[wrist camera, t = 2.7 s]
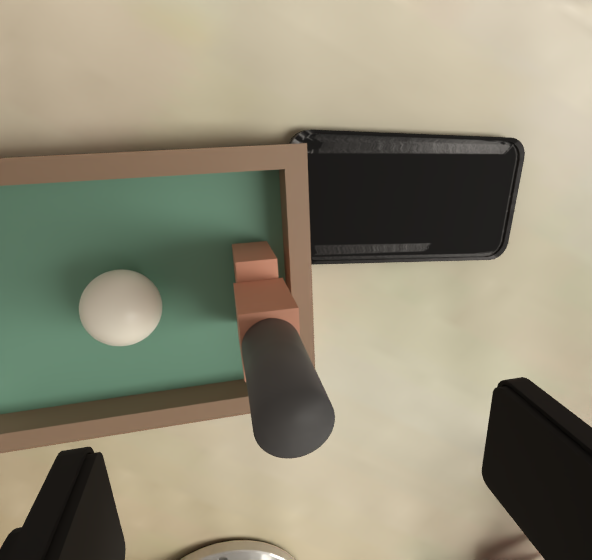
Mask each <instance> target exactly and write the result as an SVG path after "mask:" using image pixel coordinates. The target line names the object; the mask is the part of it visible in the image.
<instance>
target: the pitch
mask: <svg viewBox="0 0 592 560" xmlns="http://www.w3.org/2000/svg"><path fill="white" fill-rule="evenodd" d="M261 241H267V242H268V244H269V245H270V247H271V249H272V251H273V252H274V254H275V256H276V257H277V263H278V278H283V280H284V282H285V283H286V285H287V287H288V289H289V291H290V293H291V294H292V296H293V298H294V300H295V302H296V304H297V306H298V307H299V324H300V338H301V340H302V342H303V344H304V347H305V349H306V351H307V353H308V355H309V357H310V359H311V362H312V364H313V366H314V368H315V355H314V327H313V299H312V271H311V243H310V215H309V187H308V159H307V143H301V144H280V145H259V146H238V147H217V148H197V149H176V150H155V151H134V152H113V153H93V154H72V155H51V156H30V157H9V158H0V453H5V452H11V451H17V450H23V449H30V448H36V447H42V446H49V445H55V444H61V443H67V442H74V441H80V440H86V439H92V438H99V437H105V436H111V435H118V434H124V433H130V432H136V431H143V430H149V429H155V428H161V427H168V426H174V425H180V424H187V423H193V422H199V421H205V420H212V419H218V418H224V417H231V416H237V415H243V414H249V413H251V411H250V405H249V398H248V391H247V384H246V382H245V380H244V373H243V366H242V358H241V351H240V344H239V336H238V326H237V316H236V306H235V296H234V286H233V283H236V282H235V272H234V262H233V252H232V244H238V243H250V242H261ZM119 269H124V270H131V271H135V272H138V273H140V274H142V275H144V276H146V277H147V278H148V279H149V280H151V281H152V282H153V283H154V285H155V286H156V287H157V289H158V291H159V293H160V296H161V299H162V314H161V318H160V321H159V323H158V325H157V327H156V328H155V329H154V331H153V332H152V333H151V334H150V335H149V336H148V337H146V338H145V339H143V340H142V341H140V342H138V343H135V344H132V345H128V346H111V345H107V344H104V343H101V342H99V341H97V340H96V339H94V338H93V337H92V336H91V335H90V334H89V333H88V332H87V331H86V330H85V328H84V327H83V325H82V323H81V320H80V315H79V302H80V298H81V295H82V293H83V291H84V289H85V288H86V287H87V285H88V284H89V283H90V282H91V281H92V280H93V279H95V278H96V277H97V276H99V275H101V274H103V273H105V272H108V271H112V270H119Z"/></svg>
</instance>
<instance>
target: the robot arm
mask: <svg viewBox="0 0 592 560" xmlns="http://www.w3.org/2000/svg"><path fill="white" fill-rule="evenodd" d="M482 476H483V479H484V481H485V484H486V485H487V487H488V488H489V489H490V490H491V492H492V493H493V494H494V496H495V497H496V498H497V499H498V501H499V502H500V503H501V504H502V506H503V507H504V508H505V510H506V511H507V512H508V513H509V515H510V516H511V517H512V518H513V520H514V521H515V522H516V523H517V525H518V526H519V527H520V529H521V530H522V531H523V532H524V534H525V535H526V536H527V537H528V539H529V540H530V541H531V543H532V544H533V545H534V546H535V548H536V549H537V550H538V551H539V553H540V554H541V555H542V557H543V558H544V559H545V560H592V427H590V426H589V425H588V424H586V423H585V422H584V421H582V420H581V419H580V418H579V417H577V416H576V415H575V414H573V413H572V412H571V411H569V410H568V409H567V408H565V407H564V406H563V405H562V404H560V403H559V402H558V401H556V400H555V399H554V398H552V397H551V396H550V395H548V394H547V393H546V392H545V391H543V390H542V389H541V388H539V387H538V386H537V385H535V384H534V383H533V382H531V381H530V380H529V379H527V378H523V377H521V378H515V379H509V380H503V381H500V383H499V384H498V387H497V388H495V389H494V391H493V396H492V403H491V410H490V417H489V423H488V430H487V437H486V444H485V451H484V458H483V465H482ZM0 560H125V541H124V536H123V533H122V529H121V525H120V521H119V517H118V513H117V509H116V505H115V501H114V497H113V493H112V489H111V486H110V482H109V478H108V474H107V470H106V466H105V462H104V458H103V455H102V453H101V452H98V453H94V451H93V449H92V448H91V447H84V448H78V449H72V450H65V451H61V452H60V453H59V454H58V456H57V457H56V459H55V461H54V463H53V465H52V467H51V469H50V471H49V473H48V476H47V478H46V480H45V482H44V484H43V486H42V488H41V490H40V492H39V494H38V496H37V498H36V500H35V502H34V504H33V506H32V508H31V510H30V512H29V514H28V516H27V518H26V520H25V522H24V524H23V526H22V527H21V528H16V529H14V530H13V531H12V532H11V533H10V534H9V535H8V536H7V538H6V540H5V541H4V543H3V545H2V547H1V549H0ZM181 560H295V559H294V558H293V557H292V556H291V555H290V554H289V553H287V552H286V551H284V550H282V549H281V548H279V547H277V546H274V545H271V544H268V543H264V542H260V541H252V540H233V541H227V542H221V543H216V544H213V545H210V546H207V547H204V548H201V549H199V550H197V551H195V552H193V553H190V554H188V555H186V556H185V557H183V558H182V559H181Z"/></svg>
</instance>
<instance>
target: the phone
mask: <svg viewBox="0 0 592 560" xmlns="http://www.w3.org/2000/svg"><path fill="white" fill-rule="evenodd" d="M301 143H307V159H308V187H309V215H310V243H311V264H346V263H384V262H423V261H462V260H491V259H495V258H497V257H499V256H500V255H501V254H502V253H503V252H504V251H505V249H506V247H507V244H508V240H509V235H510V230H511V225H512V219H513V214H514V209H515V204H516V198H517V193H518V188H519V183H520V178H521V172H522V167H523V162H524V154H525V152H524V147H523V145H522V144H521V142H520V141H519V140H517V139H515V138H505V137H480V136H455V135H429V134H404V133H379V132H354V131H329V130H306V131H301V132H299V133H297V134H296V135H295V136H294V137H293V138H292V139H291V141H290V143H289V144H301Z"/></svg>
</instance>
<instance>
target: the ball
mask: <svg viewBox="0 0 592 560" xmlns="http://www.w3.org/2000/svg"><path fill="white" fill-rule="evenodd" d="M161 314H162V299H161V296H160V293H159V291H158V289H157V287H156V286H155V285H154V283H153V282H152V281H151V280H149V279H148V278H147V277H146V276H144V275H142V274H140V273H138V272H135V271H131V270H124V269H119V270H112V271H108V272H105V273H103V274H101V275H99V276H97V277H96V278H95V279H93V280H92V281H91V282H90V283H89V284H88V285H87V287H86V288H85V289H84V291H83V293H82V295H81V298H80V302H79V315H80V320H81V323H82V325H83V327H84V328H85V330H86V331H87V332H88V333H89V334H90V335H91V336H92V337H93V338H94V339H96V340H97V341H99V342H101V343H104V344H107V345H111V346H128V345H132V344H135V343H138V342H140V341H142V340H143V339H145V338H146V337H148V336H149V335H150V334H151V333H152V332H153V331H154V329H155V328H156V327H157V325H158V323H159V321H160V318H161Z"/></svg>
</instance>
